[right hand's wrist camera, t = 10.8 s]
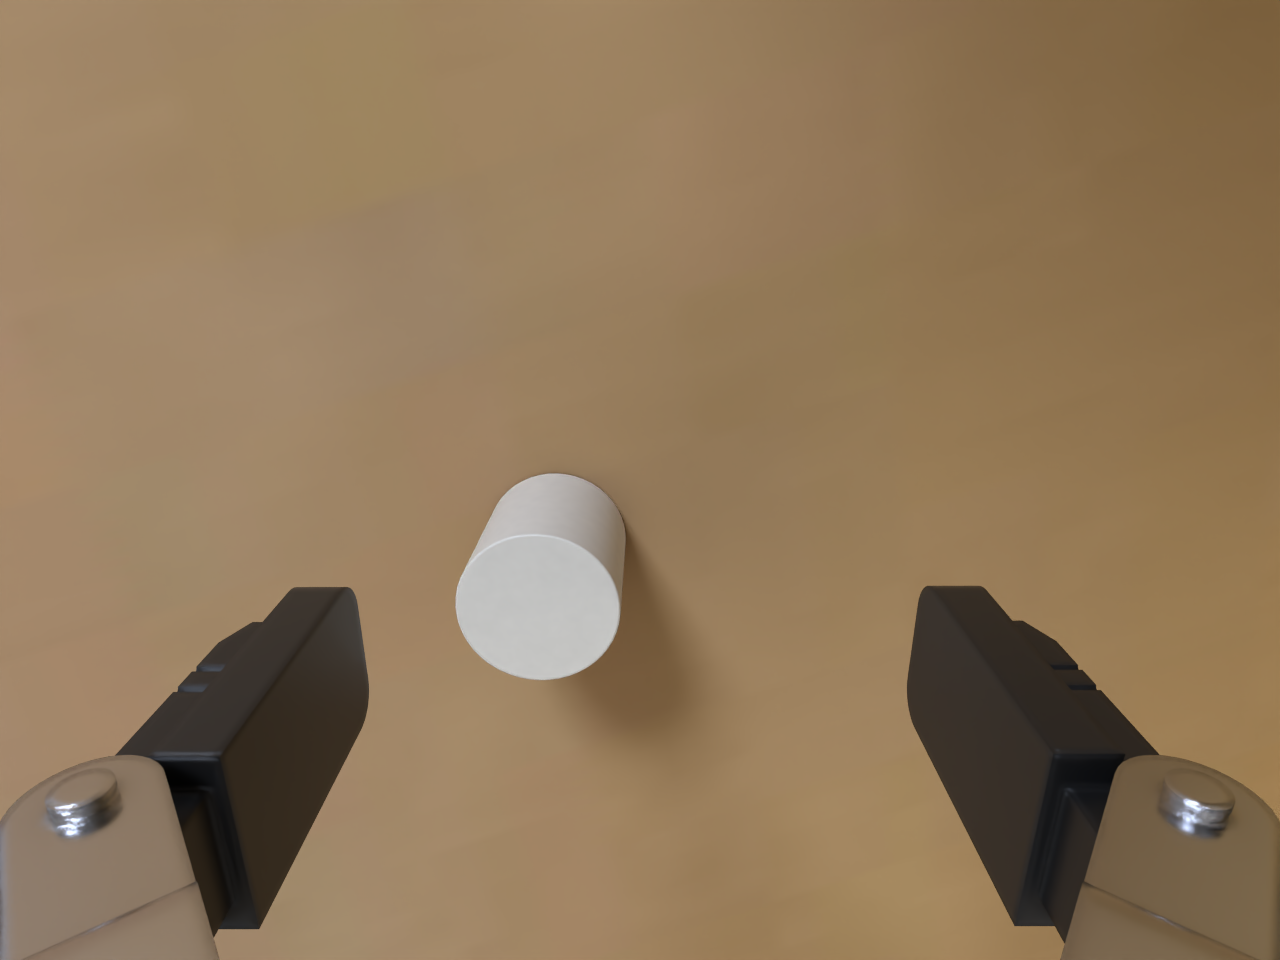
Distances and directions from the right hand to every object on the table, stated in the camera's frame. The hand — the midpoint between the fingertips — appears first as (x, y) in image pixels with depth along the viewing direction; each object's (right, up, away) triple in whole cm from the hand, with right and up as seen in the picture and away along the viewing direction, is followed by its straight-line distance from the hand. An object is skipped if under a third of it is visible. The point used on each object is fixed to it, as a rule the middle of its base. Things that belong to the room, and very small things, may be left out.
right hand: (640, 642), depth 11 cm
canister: (-2, +1, +11) cm, 12 cm away
